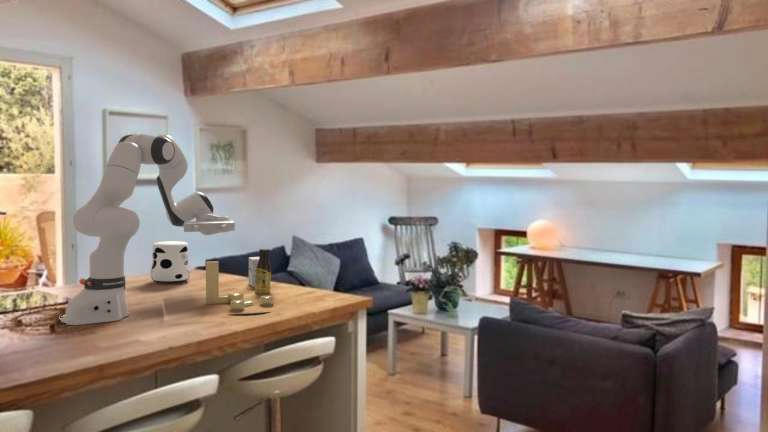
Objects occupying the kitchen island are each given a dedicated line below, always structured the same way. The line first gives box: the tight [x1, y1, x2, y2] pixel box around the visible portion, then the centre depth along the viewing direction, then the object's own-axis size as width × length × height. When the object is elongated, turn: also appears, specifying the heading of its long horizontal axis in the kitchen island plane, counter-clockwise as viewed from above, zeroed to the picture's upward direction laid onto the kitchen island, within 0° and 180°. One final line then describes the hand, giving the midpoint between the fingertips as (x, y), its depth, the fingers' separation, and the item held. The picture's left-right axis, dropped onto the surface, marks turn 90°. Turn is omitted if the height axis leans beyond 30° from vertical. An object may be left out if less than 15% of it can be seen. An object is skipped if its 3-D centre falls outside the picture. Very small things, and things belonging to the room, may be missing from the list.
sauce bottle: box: [254, 247, 272, 295], centre depth 265 cm, size 6×6×20 cm
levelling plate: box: [228, 295, 274, 317], centre depth 240 cm, size 22×22×4 cm
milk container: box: [150, 240, 191, 284], centre depth 292 cm, size 17×17×18 cm
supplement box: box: [248, 256, 260, 288], centre depth 288 cm, size 7×7×13 cm
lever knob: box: [205, 260, 245, 305], centre depth 243 cm, size 14×6×16 cm, turn 111°
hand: (210, 228), depth 253 cm, fingers open, 8 cm apart
